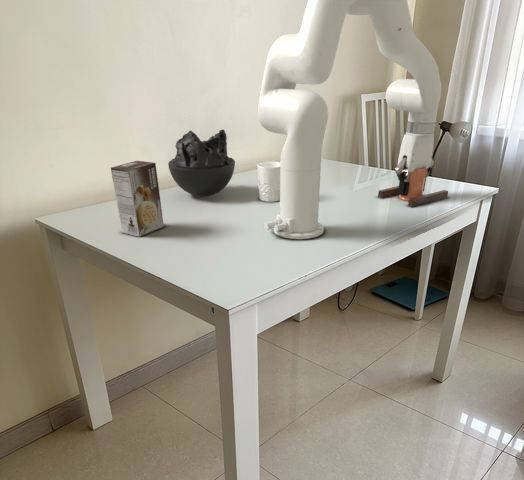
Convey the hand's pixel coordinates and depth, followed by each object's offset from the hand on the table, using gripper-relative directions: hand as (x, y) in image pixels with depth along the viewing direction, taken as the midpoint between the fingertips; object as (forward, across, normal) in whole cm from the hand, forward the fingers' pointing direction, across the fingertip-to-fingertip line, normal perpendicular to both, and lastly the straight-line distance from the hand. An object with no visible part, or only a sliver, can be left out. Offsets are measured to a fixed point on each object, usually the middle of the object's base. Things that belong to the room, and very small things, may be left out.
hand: (411, 192), depth 148 cm
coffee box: (+2, +77, -22) cm, 80 cm away
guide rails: (+2, -1, 0) cm, 2 cm away
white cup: (+2, +34, -25) cm, 42 cm away
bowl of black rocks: (+2, +48, -41) cm, 63 cm away
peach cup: (+2, 0, 0) cm, 2 cm away
